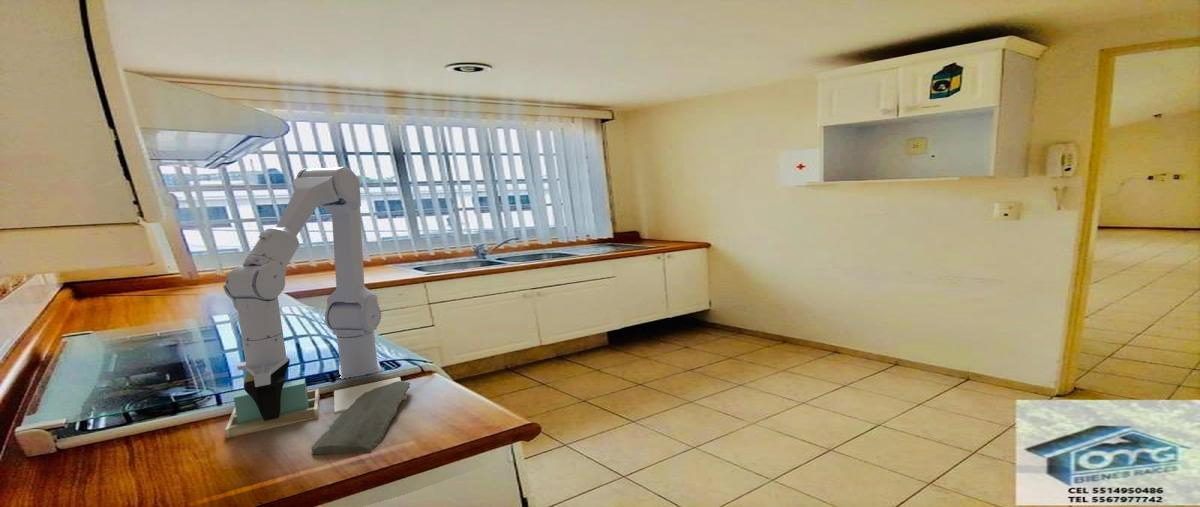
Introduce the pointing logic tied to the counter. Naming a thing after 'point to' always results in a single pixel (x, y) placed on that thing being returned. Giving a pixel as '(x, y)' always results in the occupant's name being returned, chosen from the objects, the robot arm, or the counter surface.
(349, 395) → the tile
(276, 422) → the rack
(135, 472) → the counter surface
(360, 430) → the stone slab
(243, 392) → the board
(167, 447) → the counter surface
